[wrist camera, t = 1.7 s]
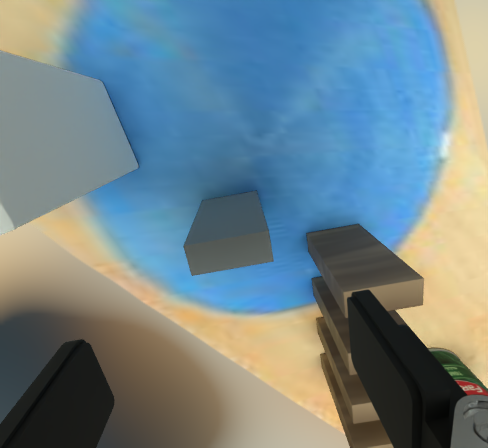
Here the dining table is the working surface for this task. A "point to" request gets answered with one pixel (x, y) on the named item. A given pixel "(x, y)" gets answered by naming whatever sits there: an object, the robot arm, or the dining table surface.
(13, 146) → the milk carton
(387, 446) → the walnut domino
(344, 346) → the walnut domino
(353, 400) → the walnut domino
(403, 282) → the walnut domino
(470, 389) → the canned tomato
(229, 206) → the charcoal domino
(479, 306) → the dining table surface
